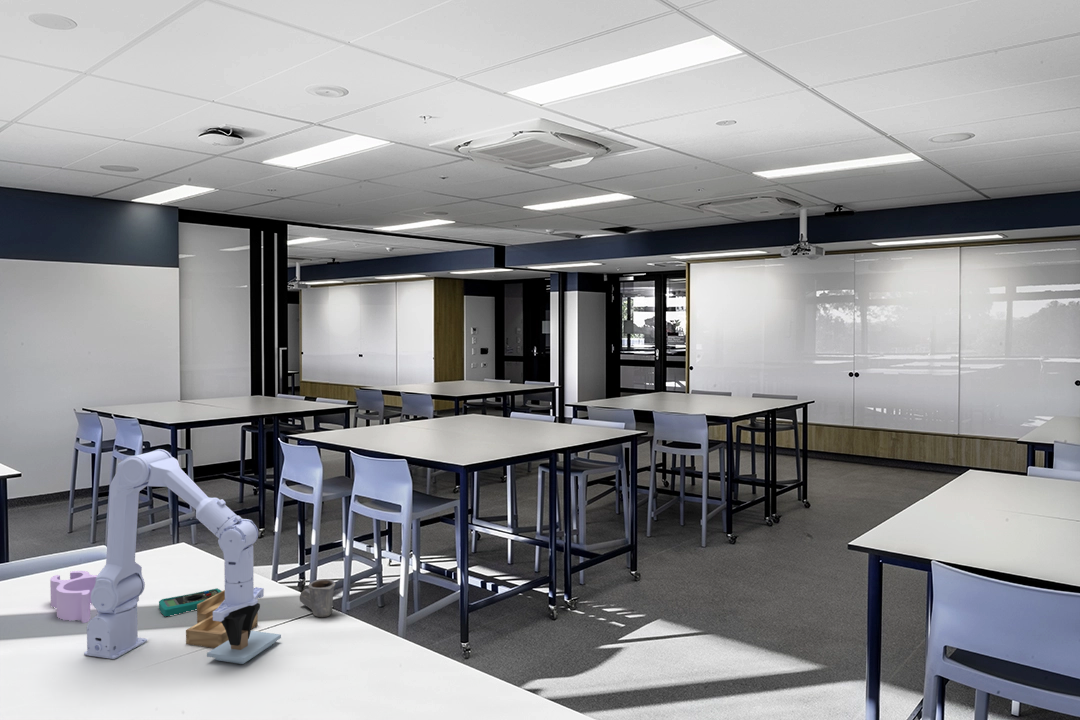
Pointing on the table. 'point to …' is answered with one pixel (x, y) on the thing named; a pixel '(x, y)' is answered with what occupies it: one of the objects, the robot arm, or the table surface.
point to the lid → (244, 647)
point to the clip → (73, 595)
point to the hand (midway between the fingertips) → (239, 641)
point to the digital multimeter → (185, 602)
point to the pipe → (319, 597)
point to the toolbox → (209, 624)
